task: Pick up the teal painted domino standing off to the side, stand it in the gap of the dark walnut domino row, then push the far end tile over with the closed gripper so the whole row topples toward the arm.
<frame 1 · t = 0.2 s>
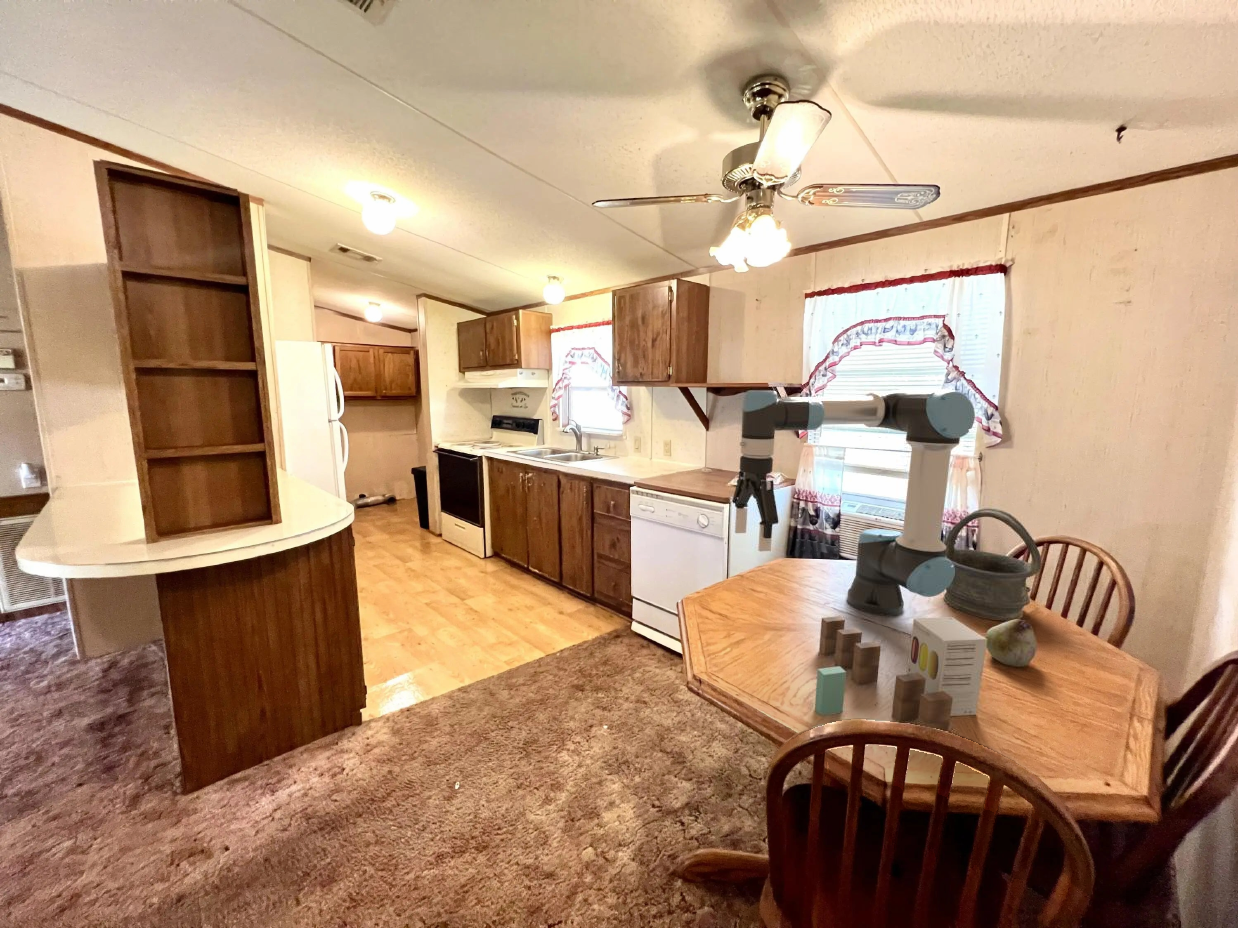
hand: (751, 541, 117), 28 cm above the table, fingers open, 13 cm apart
domino 2: (906, 717, 96), on the table
teal domino: (828, 710, 98), on the table
domino 5: (830, 652, 119), on the table
supplement box: (938, 702, 101), on the table
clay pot: (981, 607, 144), on the table
domino 3: (864, 681, 107), on the table
fruit: (1007, 661, 115), on the table
domino 4: (846, 666, 113), on the table
domino 1: (931, 739, 90), on the table
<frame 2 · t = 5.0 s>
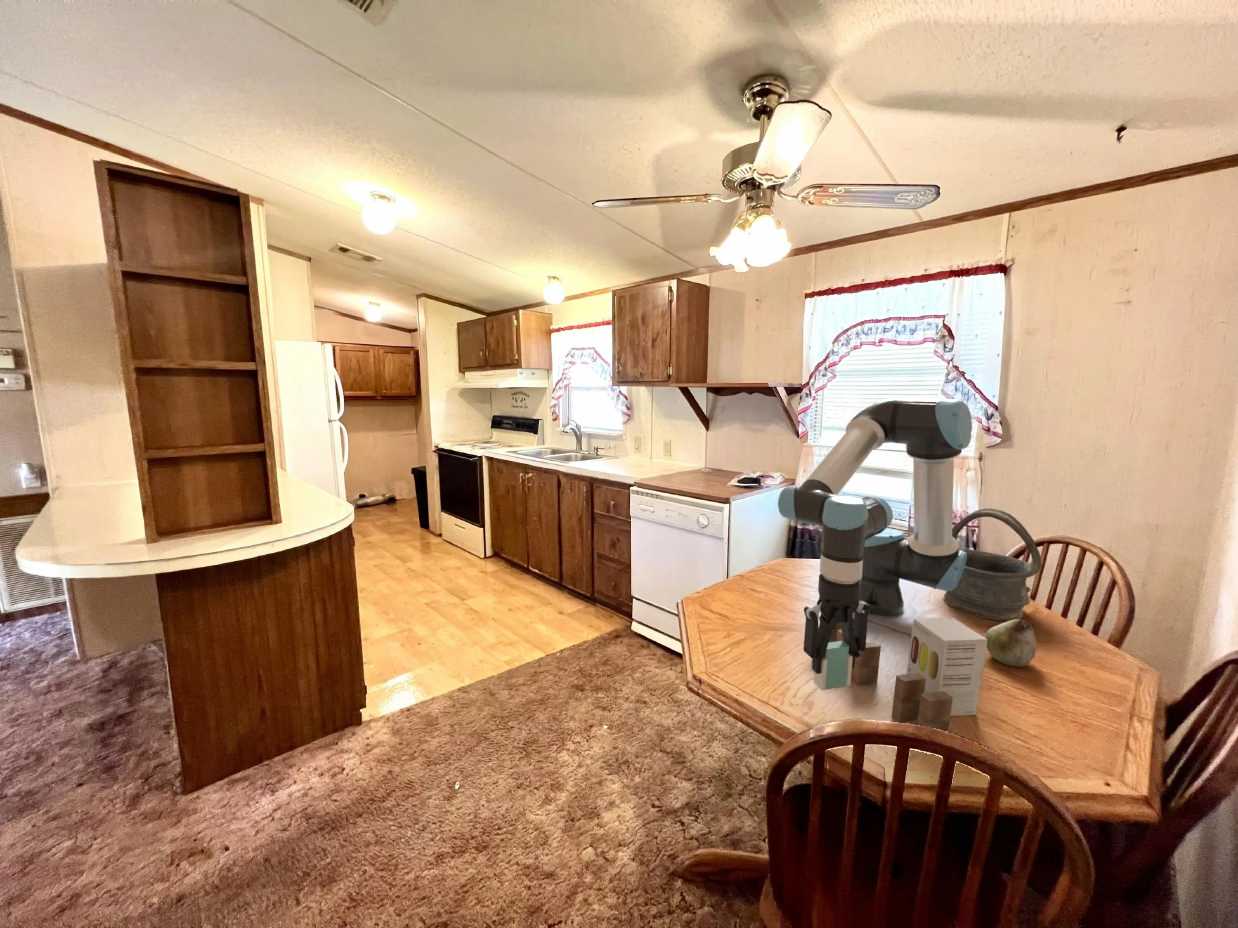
hand: (831, 683, 97), 6 cm above the table, fingers closed on teal domino, 5 cm apart
teal domino: (831, 685, 97), point 5 cm above the table, touching gripper
everything else where it was.
when the fingers open (0 cm above the table, at t = 9.8 s): teal domino stays where it is, on the table.
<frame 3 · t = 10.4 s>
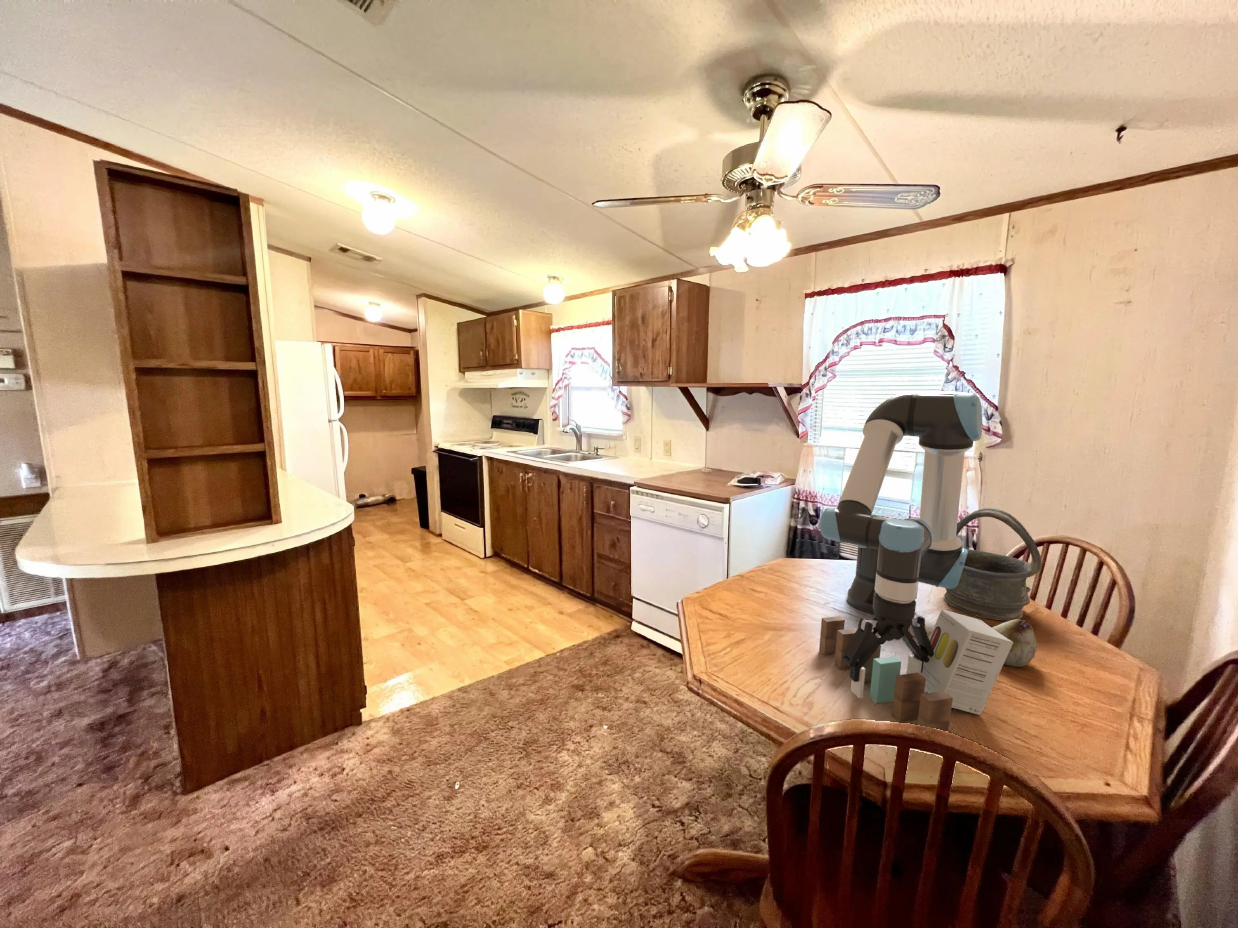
hand: (884, 690, 101), 2 cm above the table, fingers open, 13 cm apart
teal domino: (883, 698, 101), on the table
supplement box: (944, 696, 101), point 1 cm above the table, touching hand
everything else where it was.
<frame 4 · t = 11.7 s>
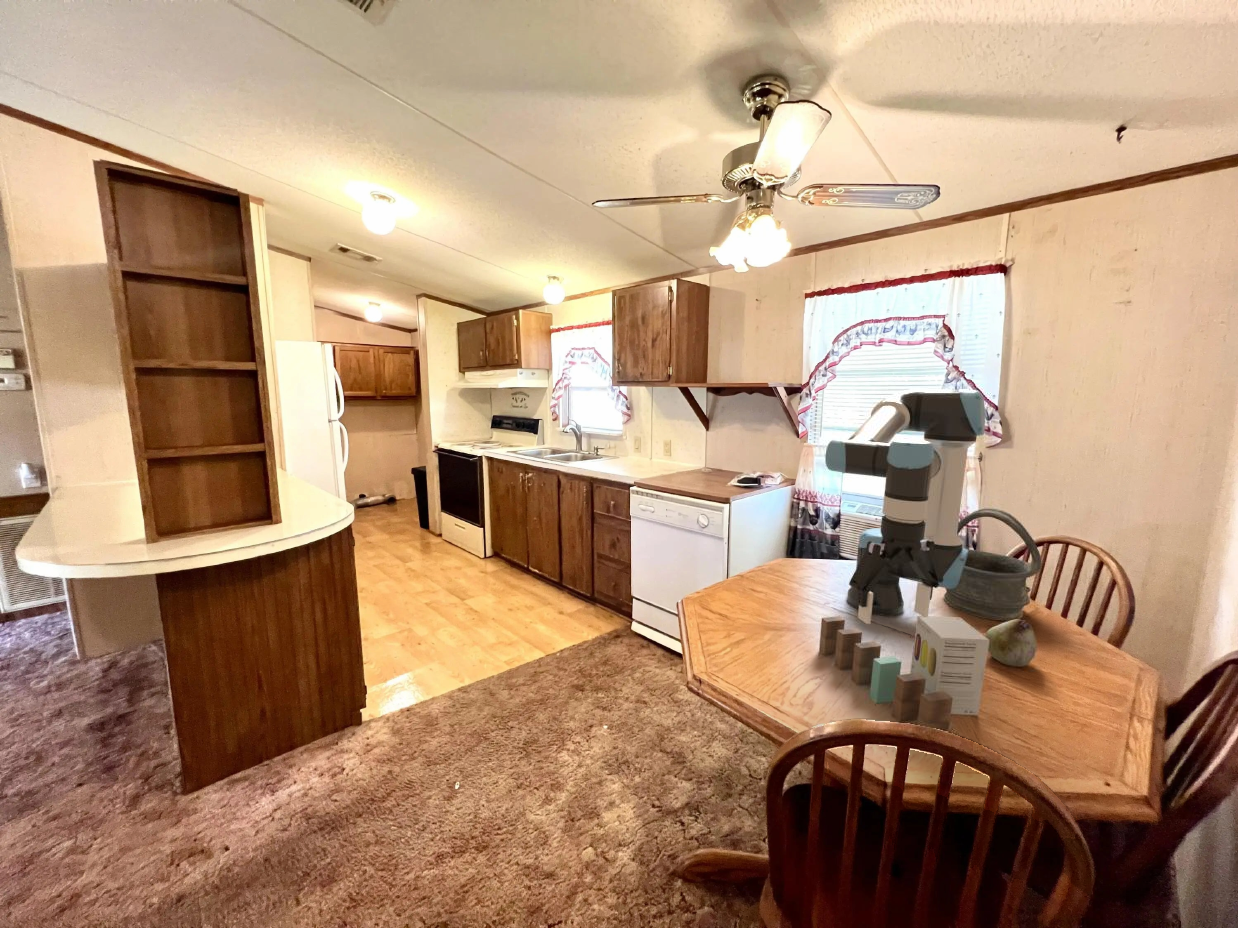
hand: (892, 617, 98), 18 cm above the table, fingers open, 13 cm apart
supplement box: (941, 700, 101), on the table
everything else where it was.
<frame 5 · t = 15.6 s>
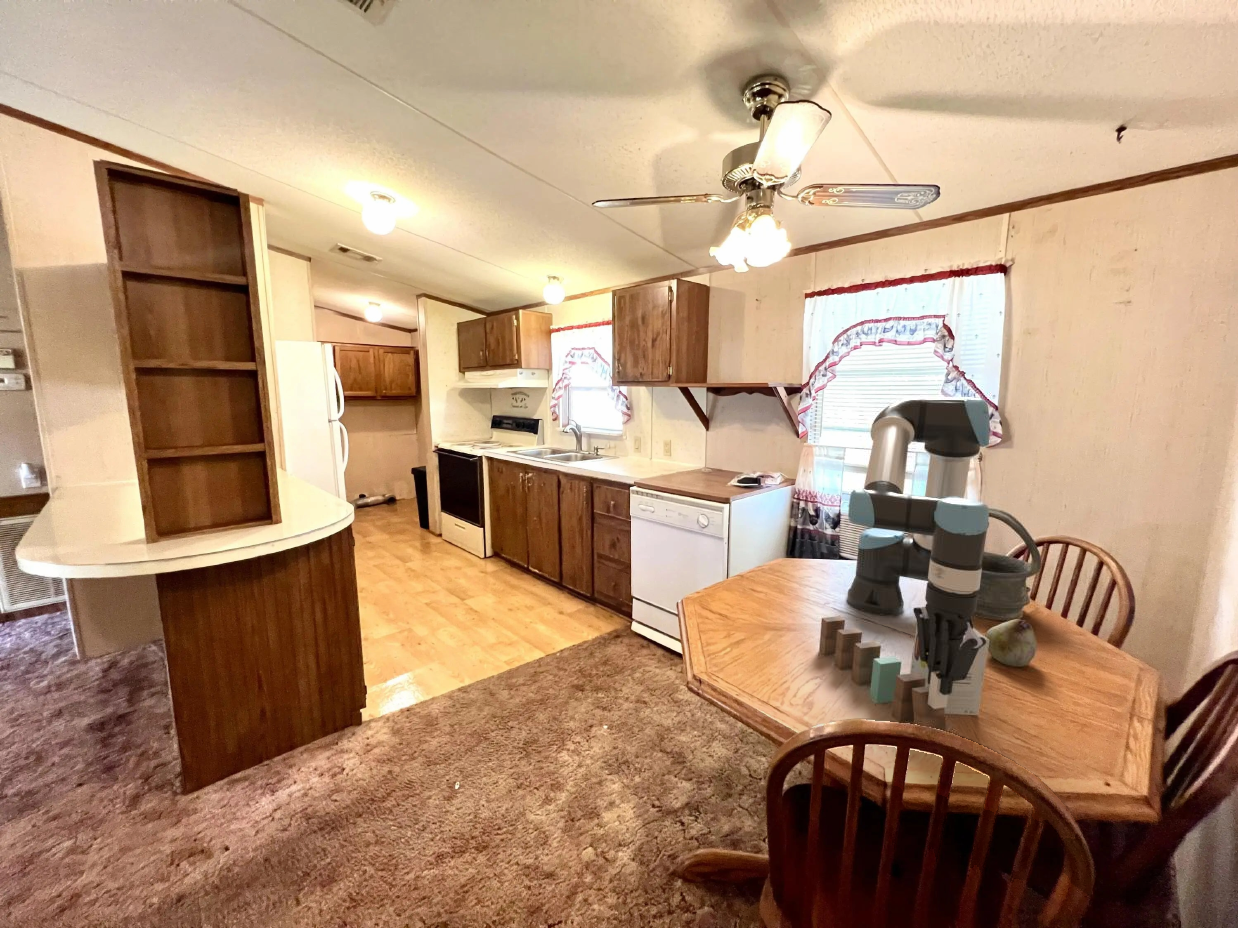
hand: (936, 705, 89), 7 cm above the table, fingers closed
domino 1: (931, 737, 90), on the table, tilted 14°
everything else where it was.
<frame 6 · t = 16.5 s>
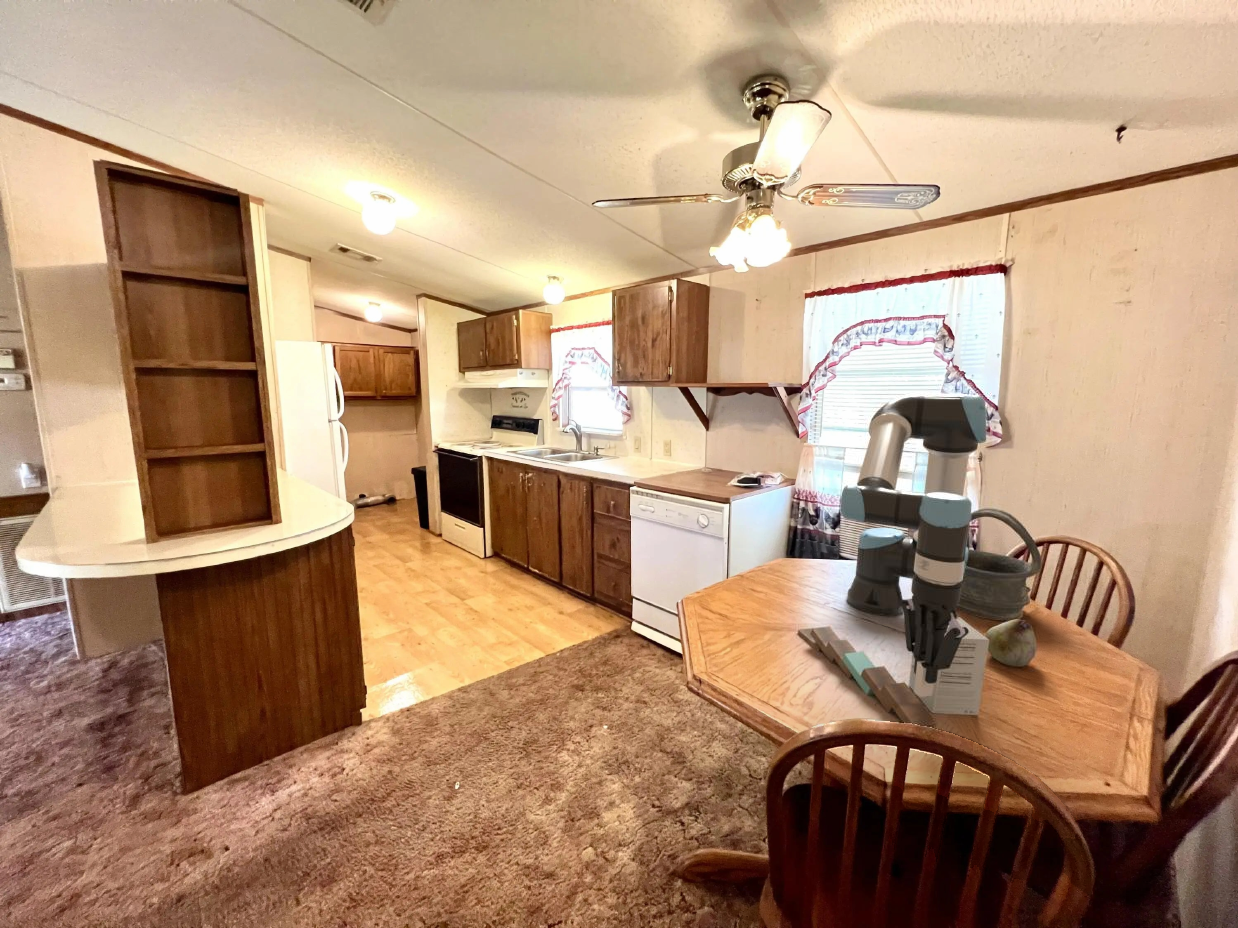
hand: (922, 693, 91), 7 cm above the table, fingers closed
domino 2: (900, 708, 97), point 1 cm above the table, tilted 70°, touching domino 1, teal domino
teal domino: (878, 690, 103), point 1 cm above the table, tilted 70°, touching domino 2, domino 3
domino 5: (827, 649, 120), on the table, tilted 90°
domino 3: (860, 674, 108), point 1 cm above the table, tilted 72°, touching teal domino
domino 4: (841, 658, 115), point 1 cm above the table, tilted 72°
domino 1: (924, 728, 91), point 1 cm above the table, tilted 70°, touching domino 2
everything else where it was.
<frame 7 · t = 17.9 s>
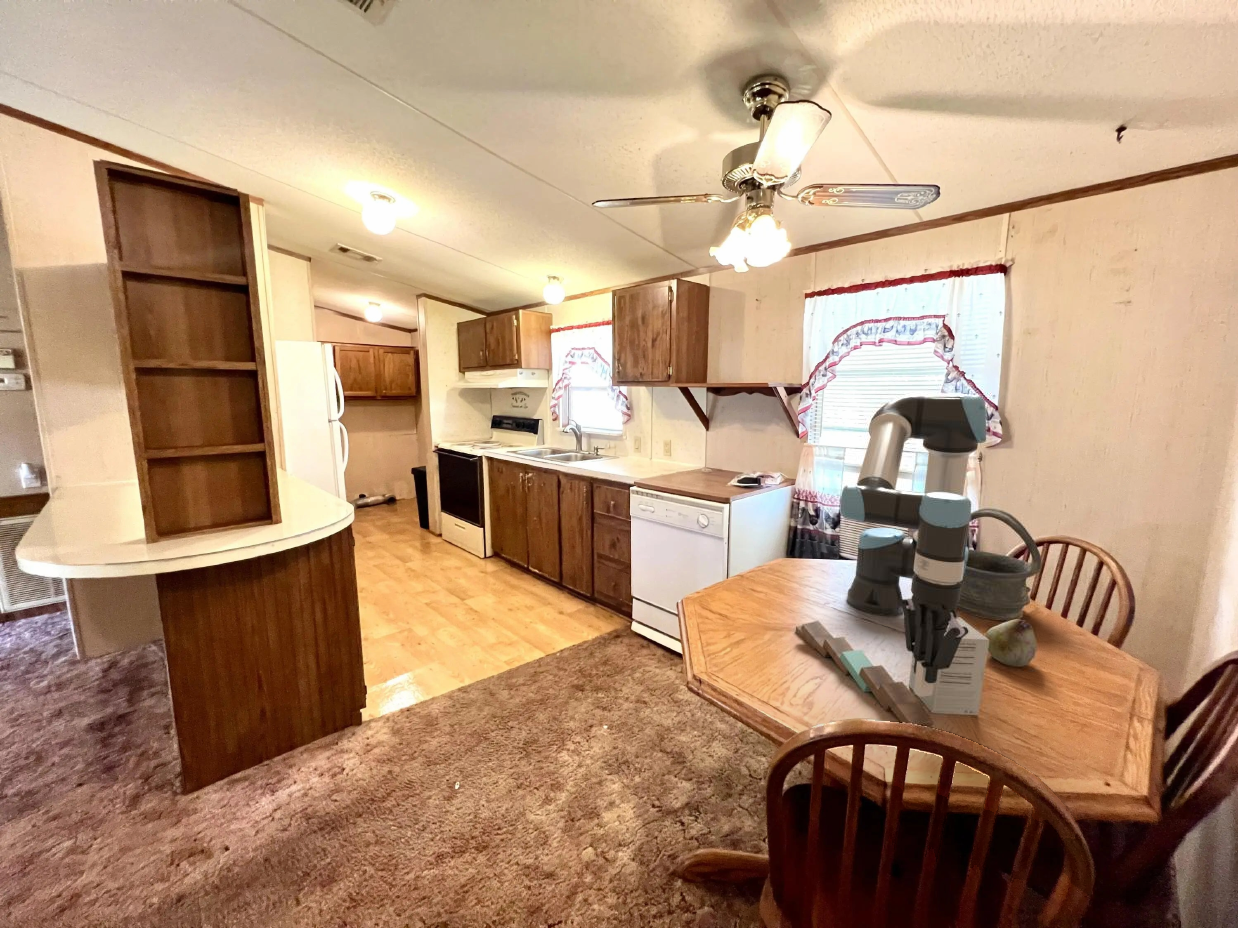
hand: (922, 693, 91), 7 cm above the table, fingers closed
teal domino: (875, 687, 104), point 1 cm above the table, tilted 71°, touching domino 2
domino 5: (824, 646, 121), on the table, tilted 90°, touching domino 4
domino 3: (856, 670, 110), point 1 cm above the table, tilted 73°, touching domino 4
domino 4: (833, 652, 117), point 1 cm above the table, tilted 71°, touching domino 3, domino 5
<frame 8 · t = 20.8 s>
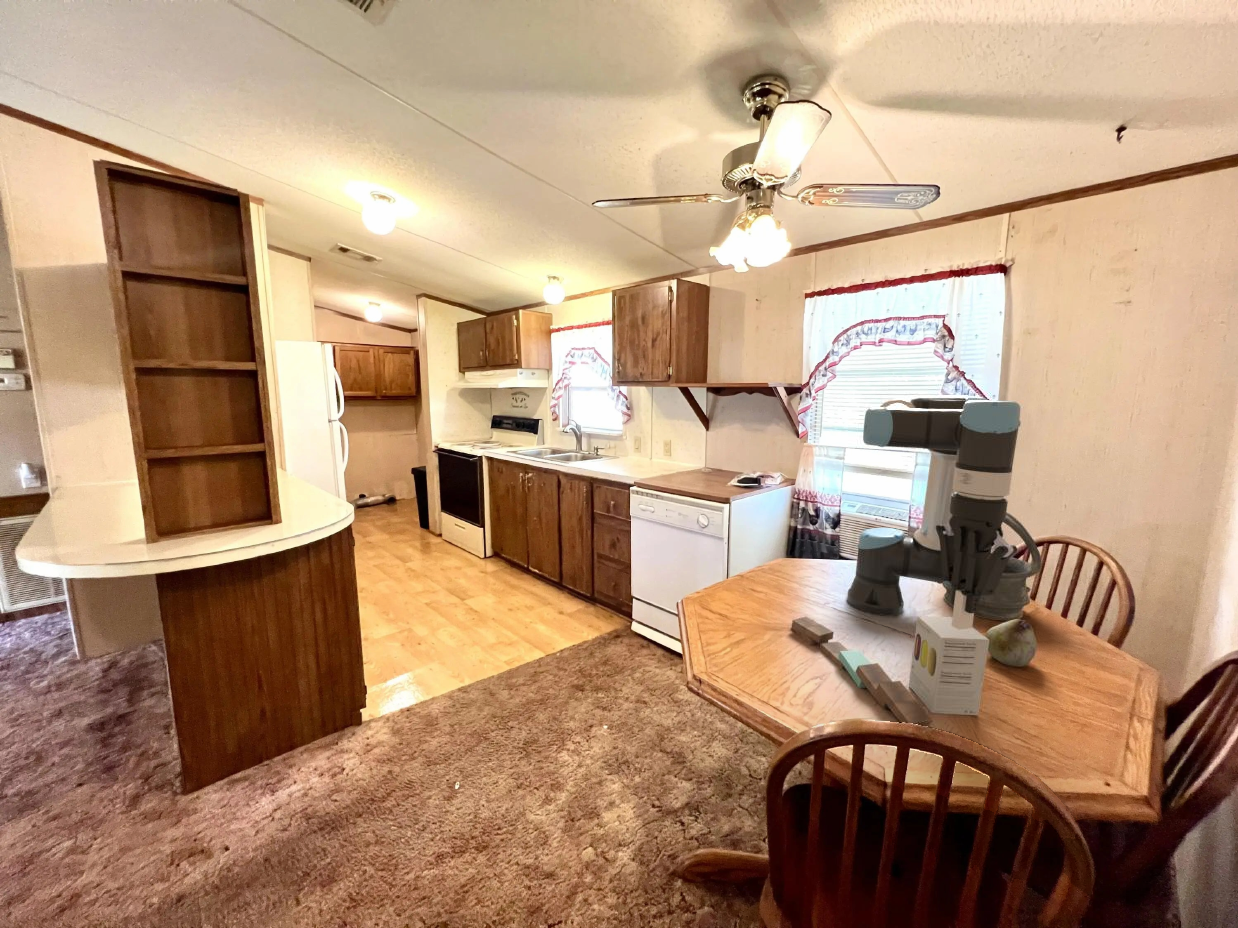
hand: (961, 626, 83), 24 cm above the table, fingers closed
teal domino: (870, 683, 105), point 1 cm above the table, tilted 79°, touching domino 2
domino 5: (819, 643, 122), on the table, tilted 90°, touching domino 4
domino 3: (851, 666, 112), on the table, tilted 90°
domino 4: (826, 637, 121), point 2 cm above the table, tilted 90°, touching domino 5
at the end: domino 5 tilted 90°; teal domino tilted 79°; the gripper is holding nothing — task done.
